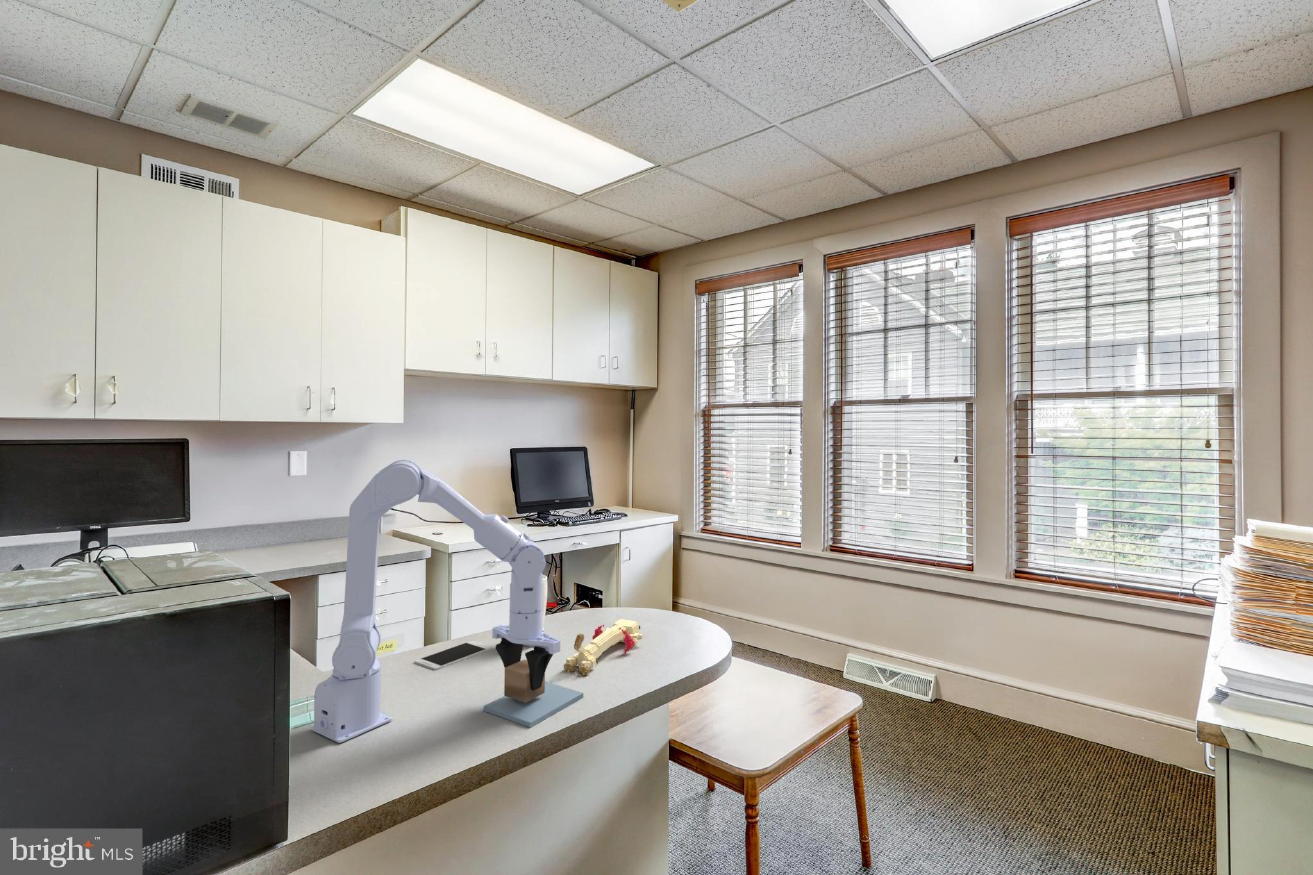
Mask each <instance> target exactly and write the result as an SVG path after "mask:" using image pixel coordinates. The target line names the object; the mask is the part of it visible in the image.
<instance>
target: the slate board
mask: <svg viewBox="0 0 1313 875" xmlns="http://www.w3.org/2000/svg"><path fill="white" fill-rule="evenodd" d="M583 698H584V692H581V691H579V690H575V689H573V688H569V687H565V686H562V685H559V684H556V683H553V682H550V681H549V682H548V681H546V680H545V693H543V694H541V695H539V696H537V697H536V698H534V699H532V700H530V701H528V702H526V703H524V702H521V701H518V700H515V699H512V698H509V697H506V696H504V695H503V696H500V697H499V698H497V699H495V700H493V701H491V702H488V703H487V704H485V705H483V709H482V710H483V712H487V713H488V714H492V715H495V716H497V717H500V718H502V719H505V720H509V721H510V722H514V723H516V724H519V725H523V726H524V727H528V728H532V727H534V726H536V725H537V724H540V723H542V722H543V721H544V720H547V719H548V718H550V717H552V716H553V715H555V714H556V713H558V712H560V711H562V710H564V709H566V708H567V707H569V706H571V705H572V704H574V703H576V702H577V701H579V700H581V699H583Z"/></svg>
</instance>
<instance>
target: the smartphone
mask: <svg viewBox="0 0 1313 875" xmlns="http://www.w3.org/2000/svg"><path fill="white" fill-rule="evenodd" d="M492 650H494V646H493V645H489V644H486V643H483V642H480V641H476V640H473V639H472V640H469V641H466V642H463V643H461V644H460V643H459V644H458V645H454V646H451V647H450V648H445V649H444V650H441V651H438V652H435V653H432V654H429V655H426V656H424V657H420V658H418V659H417V658H416V659H415V660H414V662H413V663H414V664H416V665H419V666H422V667H424V668H426V669H431V670H433V671H439V670H441V669H443V668H446V667H447V668H448V667H450V666H452V665H454V664H457V663H459V662H463V661H465V660H468V659H470V658H474V657H476V656H478V655H482V654H484V653H487V652H489V651H492Z"/></svg>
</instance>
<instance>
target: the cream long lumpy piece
mask: <svg viewBox="0 0 1313 875" xmlns="http://www.w3.org/2000/svg"><path fill="white" fill-rule="evenodd" d="M602 627H604V628H605V624H602V625H600V626H598V627H597V628H595V629H594V634H593V635H592V640H591V641H590V642H589V643H588V644H587V645H586V646H585V647H584V646H583V645H582V644H583V642H584V641H585V634H584V633H578V634H577V635H576V637H575V640H574V644H573V650H575V651H576V653H574V654H573V655H572V656H571V657H566V659H565V663H563V669H565V670H566V672H568V673H569V672H573V671H574V670H575V669H576V666H578V673H580V674H581V675H583V676H587V675H589V674H590V673H591V669H593V668H595V666H597V659H598V658H599V657H600V656H601V655H602V653H604V652H605V651H607V650H608V649H609V648H610V647H613V646H614V645H616V644H618V643H624V644H625V647H626V648H624V651H622V652H621V653H624V654H626V653H627V652H630V651H631V649H632V648H633V647H634V645H635V644H636V643H638V642H639V641H641V640H644V635H643V634H642V633H640V630H641V625H640V624H639V623H638V622H637V621H635V620H630V619H629V620H628V619H623V618H619V619H618V620H617V621H615V622H614V623H613V624H612V627H606V628H605V631H603V630H602V629H603V628H602Z"/></svg>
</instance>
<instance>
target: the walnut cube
mask: <svg viewBox="0 0 1313 875" xmlns="http://www.w3.org/2000/svg"><path fill="white" fill-rule="evenodd" d="M545 681H546V673H545V674H544V678H543V682H542V686H541V687H540V688H538V689H536V690H535V691H533V690H531V687H530V673H529V666H528V662H527V659H521V661H519V662H517V663H515V664H513V665H510V666H508V667H506V668H504V681H503V682H504V683H503V684H504V685H503V686H504V688H503V690H504V692H503V696H506V697H509V698H512V699H515V700H518V701H521V702H524V703H526V702H528V701H530V700H532V699H534V698H536V697H537V696H539V695H541V694H543V693H545Z"/></svg>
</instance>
